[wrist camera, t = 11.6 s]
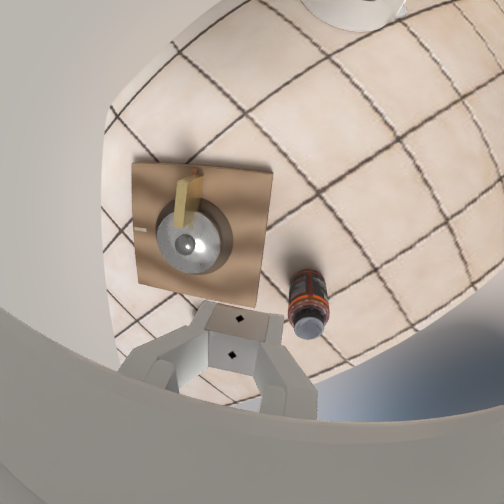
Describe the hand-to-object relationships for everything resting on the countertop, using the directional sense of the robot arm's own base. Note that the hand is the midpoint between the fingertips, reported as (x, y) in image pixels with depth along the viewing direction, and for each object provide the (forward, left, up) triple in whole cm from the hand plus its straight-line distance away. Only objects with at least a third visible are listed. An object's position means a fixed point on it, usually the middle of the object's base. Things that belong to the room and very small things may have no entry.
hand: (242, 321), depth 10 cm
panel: (+10, -13, -31) cm, 35 cm away
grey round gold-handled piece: (+8, -12, -28) cm, 32 cm away
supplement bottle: (+16, +6, -31) cm, 36 cm away
